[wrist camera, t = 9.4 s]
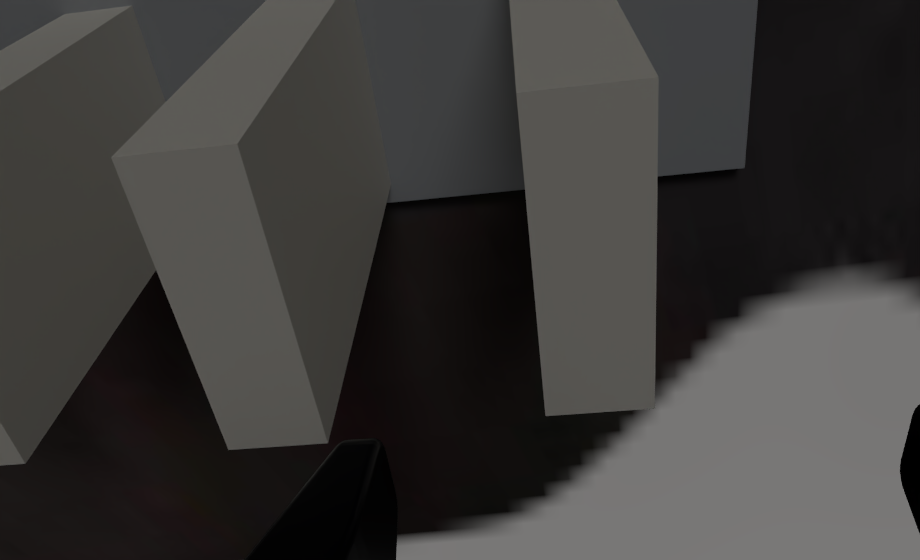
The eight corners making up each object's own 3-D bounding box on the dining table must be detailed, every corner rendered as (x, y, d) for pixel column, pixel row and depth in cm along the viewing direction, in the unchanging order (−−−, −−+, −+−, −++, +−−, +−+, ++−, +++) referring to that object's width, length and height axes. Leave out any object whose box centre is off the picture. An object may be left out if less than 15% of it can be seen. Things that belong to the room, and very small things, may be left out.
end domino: (581, -65, 16) (659, 76, 9) (590, 155, 19) (654, 408, 11) (505, -55, 16) (516, 93, 9) (524, 161, 19) (545, 415, 12)
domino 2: (350, -23, 17) (236, 144, 9) (391, 184, 20) (328, 442, 12) (279, -14, 17) (111, 157, 9) (329, 190, 20) (228, 450, 12)
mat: (740, 160, 19) (744, 167, 19) (-305, 264, 22) (-317, 272, 22) (773, -282, 14) (780, -283, 14) (-571, -77, 17) (-592, -74, 17)
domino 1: (132, 5, 17) (-144, 185, 10) (200, 203, 20) (25, 463, 13) (64, 14, 17) (-259, 197, 10) (141, 209, 20) (-67, 470, 13)
